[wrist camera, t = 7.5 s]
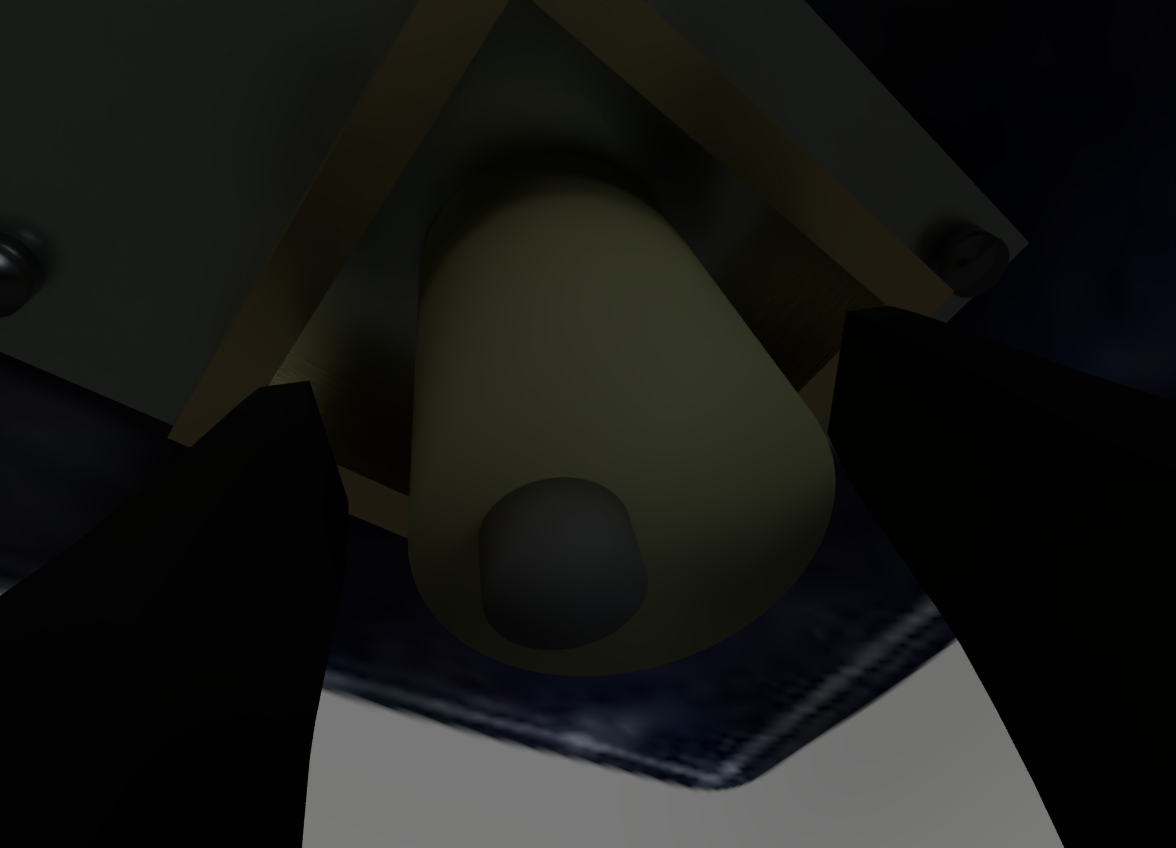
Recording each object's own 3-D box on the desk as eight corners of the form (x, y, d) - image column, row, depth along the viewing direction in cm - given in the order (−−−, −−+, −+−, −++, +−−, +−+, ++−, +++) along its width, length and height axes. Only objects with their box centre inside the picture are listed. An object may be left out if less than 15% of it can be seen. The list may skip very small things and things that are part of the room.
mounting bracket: (997, 225, 15) (1126, 297, 12) (626, 593, 19) (658, 708, 17) (201, -617, 8) (64, -920, 5) (-104, 265, 12) (-272, 371, 9)
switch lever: (705, 171, 12) (948, 409, 7) (648, 401, 15) (787, 725, 9) (425, 135, 11) (415, 379, 6) (413, 389, 14) (398, 745, 8)
